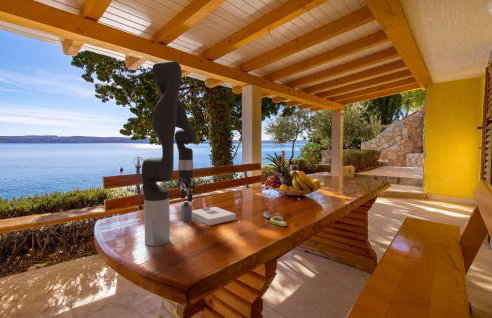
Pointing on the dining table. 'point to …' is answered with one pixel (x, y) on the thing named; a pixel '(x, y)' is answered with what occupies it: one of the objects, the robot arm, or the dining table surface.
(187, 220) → the gray knobbed square peg
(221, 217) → the socket plate
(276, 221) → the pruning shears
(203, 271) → the dining table surface
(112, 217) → the dining table surface
